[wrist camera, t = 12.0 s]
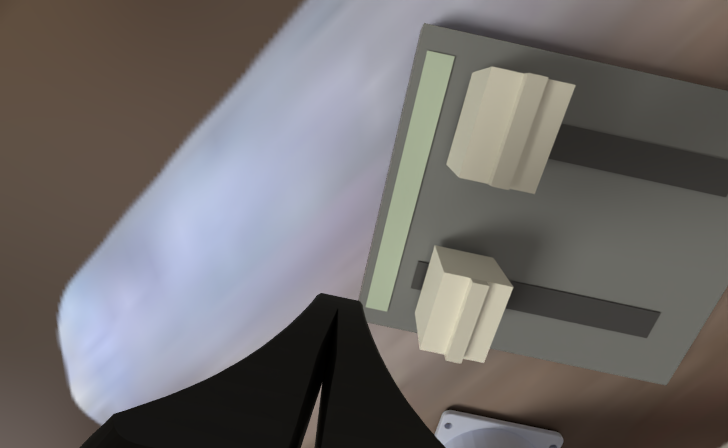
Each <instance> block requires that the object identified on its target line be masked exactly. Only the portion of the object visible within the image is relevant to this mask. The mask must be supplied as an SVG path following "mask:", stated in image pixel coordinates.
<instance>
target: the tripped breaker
mask: <svg viewBox="0 0 728 448" xmlns="http://www.w3.org/2000/svg"><path fill="white" fill-rule="evenodd" d="M548 78H549V77H545V76H541V75H536V74H532V73H525V74H524V73H519V72H515V71H510V70H506V69H501V68H497V67H489V68H485V69H482V70H479V71H476V72H473V73H472V76H471V79H470V83H469V86H468V90H467V93H466V97H465V100H464V104H463V107H462V111H461V114H460V118H459V121H458V125H457V128H456V132H455V135H454V139H453V142H452V146H451V150H450V153H449V157H448V160H447V164H446V165H447V166H448V167H449V168H450V169H451V170H452V171H453V172H454V173H455V174H456V175H457V176H458V177H459V178H463V179H467V180H472V181H477V182H481V183H486V184H489V185H490V186H492V187H496V188H501V189H505V190H509V189H513V190H518V191H523V192H527V193H532V194H535V192H536V189H537V187H538V184H539V181H540V179H541V176H542V173H543V171H544V168H545V165H546V163H547V160H548V157H549V155H550V152H551V149H552V147H553V144H554V142H555V139H556V136H557V134H558V131H559V128H560V126H561V123H562V120H563V118H564V115H565V112H566V110H567V107H568V104H569V102H570V99H571V96H572V94H573V91H574V88H575V86H576V85H573V84H569V83H564V82H560V81H555V80H551V79H548Z"/></svg>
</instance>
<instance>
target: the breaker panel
mask: <svg viewBox="0 0 728 448" xmlns="http://www.w3.org/2000/svg"><path fill="white" fill-rule="evenodd" d="M489 67H497V68H501V69H506V70H510V71H515V72H519V73H524V74H525V73H532V74H536V75H541V76H545V77H549V78H548V79H551V80H555V81H560V82H564V83H569V84H573V85H576V86H575V88H574V91H573V94H572V96H571V99H570V102H569V104H568V107H567V110H566V112H565V115H564V118H563V120H562V123H561V126H560V128H559V131H558V134H557V136H556V139H555V142H554V144H553V147H552V149H551V152H550V155H549V157H548V160H547V163H546V165H545V168H544V171H543V173H542V176H541V179H540V181H539V184H538V187H537V189H536V192H535V194H532V193H527V192H523V191H518V190H513V189H509V190H505V189H501V188H496V187H492V186H490V185H489V184H486V183H481V182H477V181H472V180H467V179H463V178H459V177H458V176H457V175H456V174H455V173H454V172H453V171H452V170H451V169H450V168H449V167H448V166H447V165H446V164H447V160H448V157H449V153H450V150H451V146H452V142H453V139H454V135H455V132H456V128H457V125H458V121H459V118H460V114H461V111H462V107H463V104H464V100H465V97H466V93H467V90H468V86H469V83H470V79H471V76H472V73H473V72H476V71H479V70H482V69H485V68H489ZM435 245H436V246H441V247H445V248H450V249H455V250H459V251H464V252H469V253H473V254H478V255H483V256H487V257H492V258H494V259H495V261H496V262H497V264H498V265H499V267H500V268H501V270H502V271H503V273H504V274H505V275H506V277H507V278H508V280H509V281H510V283H511V284H512V286H513V290H512V292H511V295H510V297H509V300H508V302H507V305H506V308H505V310H504V313H503V315H502V318H501V320H500V323H499V325H498V328H497V331H496V333H495V336H494V338H493V341H492V343H491V346H490V348H491V349H496V350H500V351H505V352H510V353H515V354H519V355H524V356H529V357H534V358H538V359H543V360H548V361H553V362H557V363H562V364H567V365H572V366H576V367H581V368H586V369H591V370H595V371H600V372H605V373H610V374H614V375H619V376H624V377H629V378H633V379H638V380H643V381H648V382H652V383H657V384H662V385H667V384H668V382H669V380H670V379H671V377H672V376H673V374H674V372H675V371H676V369H677V367H678V366H679V364H680V363H681V361H682V359H683V358H684V356H685V354H686V353H687V351H688V350H689V348H690V346H691V345H692V343H693V341H694V340H695V338H696V337H697V335H698V333H699V332H700V330H701V328H702V327H703V325H704V324H705V322H706V320H707V319H708V317H709V315H710V314H711V312H712V310H713V309H714V307H715V306H716V304H717V302H718V301H719V299H720V297H721V296H722V294H723V293H724V291H725V289H726V288H727V286H728V91H726V90H721V89H717V88H712V87H708V86H704V85H699V84H695V83H690V82H686V81H681V80H677V79H672V78H668V77H663V76H659V75H654V74H650V73H645V72H641V71H636V70H632V69H627V68H623V67H618V66H614V65H609V64H605V63H600V62H596V61H591V60H587V59H583V58H578V57H574V56H569V55H565V54H560V53H556V52H551V51H547V50H542V49H538V48H533V47H529V46H524V45H520V44H515V43H511V42H506V41H502V40H497V39H493V38H488V37H484V36H479V35H475V34H470V33H466V32H462V31H457V30H453V29H448V28H444V27H439V26H435V25H430V24H426V23H424V25H423V27H422V29H421V32H420V36H419V40H418V44H417V49H416V53H415V57H414V62H413V66H412V70H411V75H410V79H409V83H408V88H407V92H406V96H405V101H404V105H403V109H402V114H401V118H400V122H399V127H398V131H397V135H396V140H395V144H394V148H393V152H392V157H391V161H390V165H389V170H388V174H387V178H386V183H385V187H384V191H383V196H382V200H381V204H380V209H379V213H378V217H377V222H376V226H375V230H374V235H373V239H372V243H371V248H370V252H369V256H368V260H367V265H366V269H365V273H364V278H363V282H362V286H361V291H360V295H359V299H358V301H360V302H361V303H362V305H363V309H364V314H365V317H366V321H367V323H372V324H377V325H382V326H386V327H391V328H396V329H401V330H405V331H410V332H415V333H418V332H417V325H416V318H415V311H416V307H417V304H418V300H419V297H420V294H421V290H422V287H423V283H424V280H425V277H426V273H427V270H428V267H429V263H430V260H431V256H432V253H433V250H434V246H435Z"/></svg>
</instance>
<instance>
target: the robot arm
mask: <svg viewBox="0 0 728 448" xmlns="http://www.w3.org/2000/svg"><path fill="white" fill-rule="evenodd" d="M321 385H322V390H321V398H320V407H319V415H318V424H317V432H316V441H315V448H561V446H562V444H563V442H564V440H563V438H562V436H561V434H560V433H558V432H555V431H550V430H546V429H541V428H536V427H531V426H526V425H522V424H517V423H512V422H507V421H502V420H497V419H493V418H488V417H483V416H478V415H473V414H469V413H464V412H459V411H454V410H446V411H444V412H443V414H442V416H441V419H440V421H439V424H438V427H437V430H436V432H435V435H434V434H433V433H432V432H431V431H430V430H429V428H428V427H427V426H426V425H425V424H424V422H423V421H422V420H421V419H420V417H419V416H418V415H417V413H416V412H415V411H414V410H413V408H412V407H411V406H410V405H409V403H408V402H407V400H406V399H405V397H404V396H403V394H402V393H401V391H400V390H399V388H398V387H397V385H396V383H395V382H394V380H393V378H392V377H391V375H390V373H389V371H388V369H387V368H386V366H385V364H384V362H383V360H382V358H381V356H380V353H379V351H378V349H377V347H376V344H375V342H374V340H373V337H372V335H371V332H370V330H369V327H368V324H367V321H366V317H365V314H364V309H363V305H362V303H361V302H360V301H356V300H352V299H347V298H342V297H337V296H333V295H328V294H323V293H320V294H319V295H317V296H316V298H315V299H314V300H313V301H312V303H311V304H310V305H309V306H308V307H307V308H306V309H305V310H304V311H303V312H302V313H301V314H300V315H299V316H298V317H297V318H296V319H295V320H294V321H293V322H292V323H291V324H290V325H288V326H287V327H286V328H285V329H284V330H283V331H281V332H280V333H279V334H278V335H276V336H275V337H274V338H273V339H271V340H270V341H269V342H268V343H266V344H265V345H263V346H262V347H261V348H259V349H258V350H256V351H255V352H253V353H252V354H250V355H249V356H247V357H246V358H244V359H243V360H241V361H239V362H237V363H236V364H234V365H232V366H230V367H229V368H227V369H225V370H224V371H222V372H220V373H218V374H216V375H214V376H212V377H210V378H208V379H206V380H204V381H202V382H199V383H197V384H195V385H193V386H190V387H188V388H186V389H183V390H181V391H178V392H176V393H173V394H171V395H168V396H166V397H163V398H160V399H157V400H154V401H151V402H149V403H146V404H143V405H140V406H137V407H134V408H131V409H128V410H125V411H122V412H119V413H115V414H113V415H112V416H111V417H110V418H109V419H108V420H107V421H106V422H105V423H104V424H103V425H102V426H101V427H100V428H99V429H98V430H97V431H96V432H95V433H93V434H92V436H90V437H89V438H88V440H87V441H86V442H85V443H84V444H83V445H82V446H81V447H80V448H301V445H302V442H303V439H304V436H305V433H306V430H307V427H308V424H309V421H310V418H311V415H312V412H313V409H314V406H315V403H316V400H317V397H318V394H319V391H320V388H321ZM446 423H449V424H446Z"/></svg>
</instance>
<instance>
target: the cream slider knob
mask: <svg viewBox="0 0 728 448" xmlns="http://www.w3.org/2000/svg"><path fill="white" fill-rule="evenodd" d="M512 290H513V286H512V284H511V283H510V281H509V280H508V278H507V277H506V275H505V274H504V273H503V271H502V270H501V268H500V267H499V265H498V264H497V262H496V261H495V259H494V258H492V257H487V256H483V255H478V254H473V253H469V252H464V251H459V250H455V249H450V248H445V247H441V246H436V245H435V246H434V250H433V253H432V256H431V260H430V263H429V267H428V270H427V273H426V277H425V280H424V283H423V287H422V290H421V294H420V297H419V300H418V304H417V307H416V311H415V318H416V325H417V332H418V339H419V347H420V350H425V351H430V352H435V353H439V354H444V355H445V359H446V361H451V362H455V363H460V364H461V363H462V360H463V359H468V360H473V361H477V362H482V363H484V361H485V359H486V356H487V354H488V351H489V348H490V346H491V343H492V341H493V338H494V336H495V333H496V331H497V328H498V325H499V323H500V320H501V318H502V315H503V313H504V310H505V308H506V305H507V302H508V300H509V297H510V295H511V292H512Z"/></svg>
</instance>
